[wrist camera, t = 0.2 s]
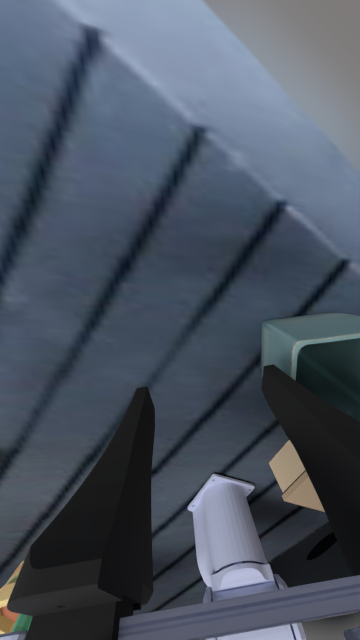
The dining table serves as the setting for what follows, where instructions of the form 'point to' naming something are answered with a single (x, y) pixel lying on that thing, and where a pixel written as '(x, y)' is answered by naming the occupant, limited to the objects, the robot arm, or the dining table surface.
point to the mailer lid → (303, 493)
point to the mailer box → (287, 466)
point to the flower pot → (318, 355)
